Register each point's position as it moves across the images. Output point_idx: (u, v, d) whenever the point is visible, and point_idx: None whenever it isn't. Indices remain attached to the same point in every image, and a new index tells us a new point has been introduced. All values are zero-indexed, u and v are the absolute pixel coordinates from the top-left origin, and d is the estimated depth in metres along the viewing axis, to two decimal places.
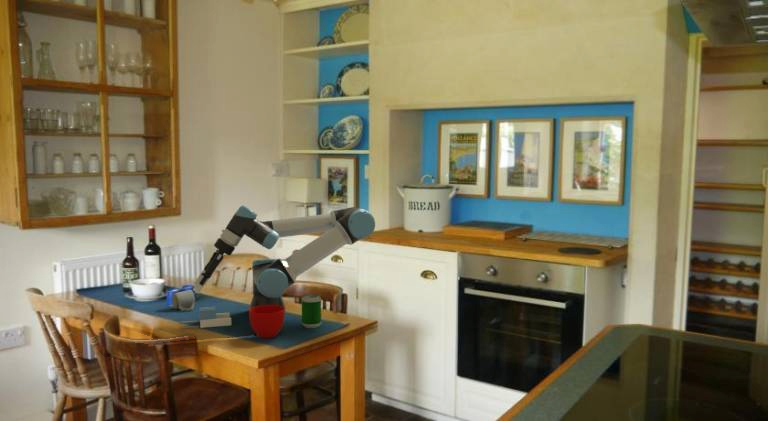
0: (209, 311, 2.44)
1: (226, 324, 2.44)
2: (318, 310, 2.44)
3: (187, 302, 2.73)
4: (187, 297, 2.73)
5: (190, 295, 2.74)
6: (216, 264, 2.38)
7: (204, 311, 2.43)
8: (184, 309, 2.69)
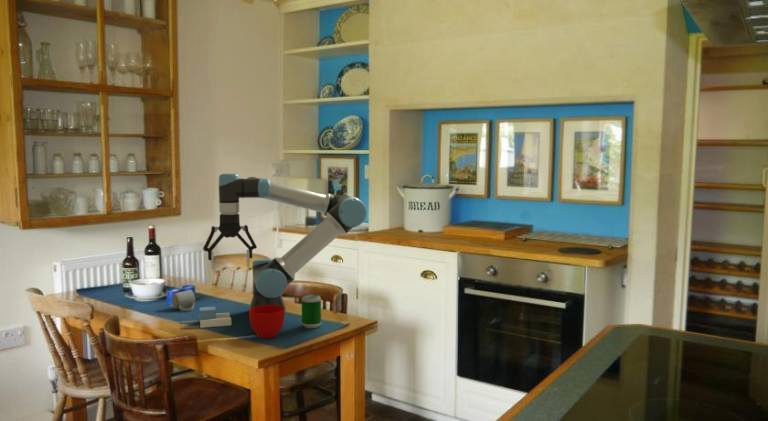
0: (209, 311, 2.44)
1: (226, 324, 2.44)
2: (318, 310, 2.44)
3: (187, 302, 2.72)
4: (187, 297, 2.72)
5: (190, 295, 2.73)
6: (209, 236, 2.43)
7: (204, 311, 2.43)
8: (184, 309, 2.69)
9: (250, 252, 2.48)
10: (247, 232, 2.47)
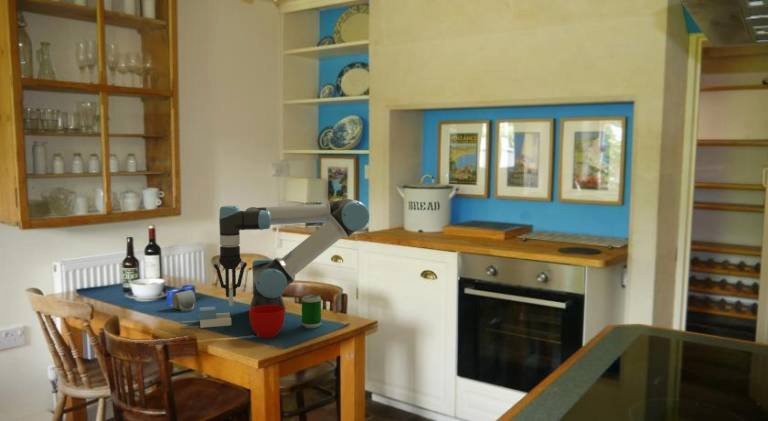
0: (209, 311, 2.44)
1: (226, 324, 2.44)
2: (318, 310, 2.44)
3: (188, 302, 2.72)
4: (188, 297, 2.72)
5: (191, 295, 2.73)
6: None
7: (204, 311, 2.43)
8: (185, 309, 2.69)
9: (234, 290, 2.48)
10: (242, 269, 2.48)
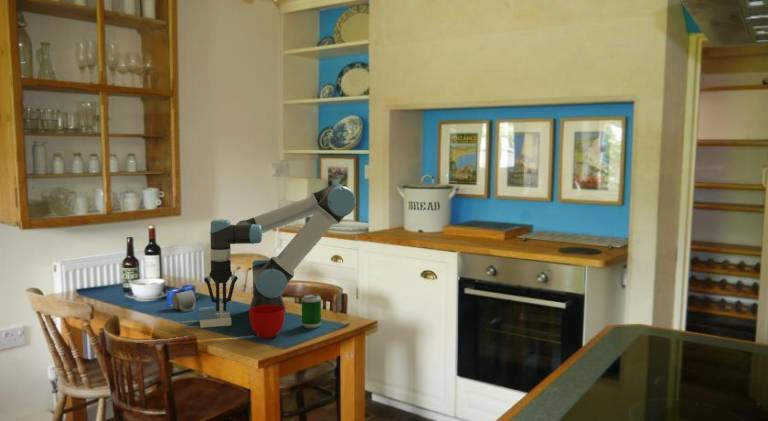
0: (209, 311, 2.44)
1: (226, 324, 2.44)
2: (318, 310, 2.44)
3: (188, 303, 2.72)
4: (188, 298, 2.72)
5: (191, 295, 2.73)
6: (208, 288, 2.45)
7: (204, 311, 2.43)
8: (185, 310, 2.68)
9: (224, 304, 2.47)
10: (233, 283, 2.47)
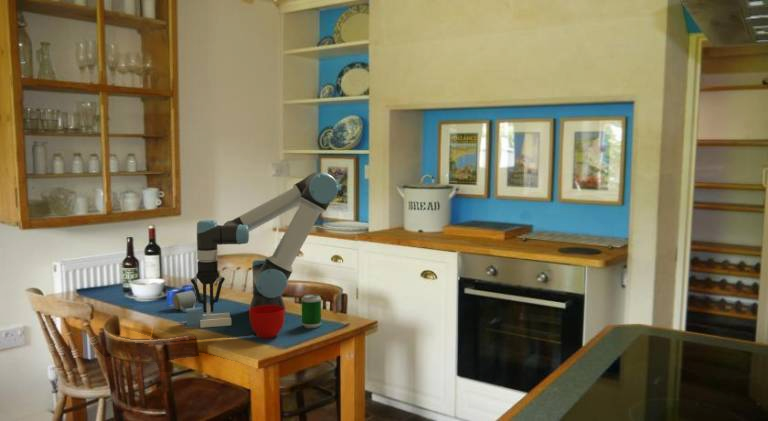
0: (195, 312, 2.42)
1: (226, 324, 2.44)
2: (318, 310, 2.44)
3: (188, 303, 2.71)
4: (188, 298, 2.71)
5: (191, 295, 2.72)
6: None
7: (190, 312, 2.42)
8: (185, 310, 2.68)
9: (211, 305, 2.46)
10: (220, 284, 2.46)
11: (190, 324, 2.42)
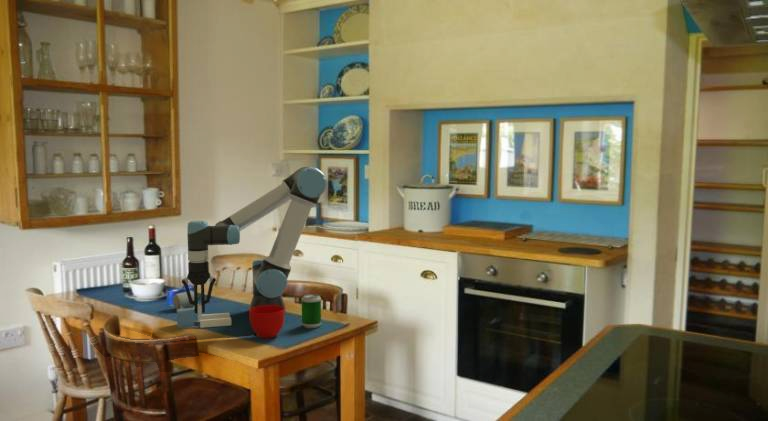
0: (186, 313, 2.41)
1: (226, 324, 2.44)
2: (318, 310, 2.44)
3: (188, 303, 2.71)
4: None
5: (191, 295, 2.72)
6: None
7: (181, 313, 2.41)
8: None
9: (202, 306, 2.45)
10: (211, 285, 2.45)
11: (181, 325, 2.41)
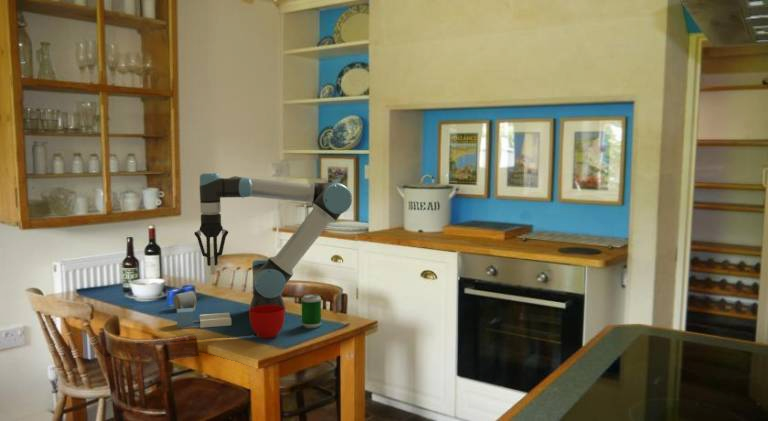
0: (186, 313, 2.41)
1: (226, 324, 2.44)
2: (318, 310, 2.44)
3: (189, 303, 2.70)
4: (189, 298, 2.71)
5: (192, 296, 2.72)
6: None
7: (181, 313, 2.41)
8: None
9: (215, 259, 2.45)
10: (224, 237, 2.45)
11: (181, 325, 2.41)
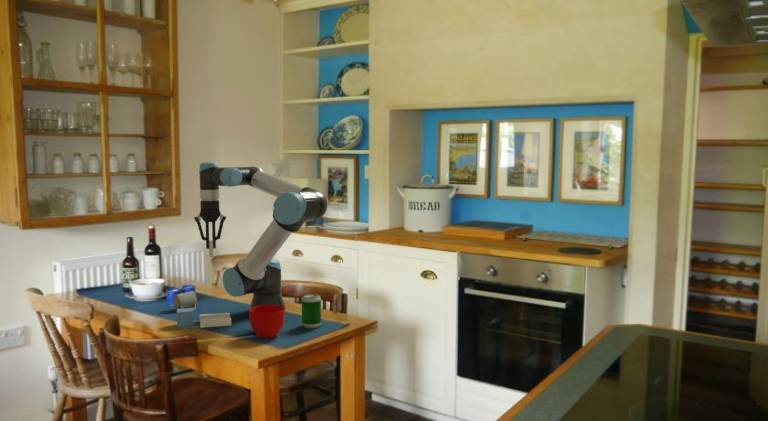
0: (186, 313, 2.41)
1: (226, 324, 2.44)
2: (318, 310, 2.44)
3: (189, 303, 2.70)
4: (189, 298, 2.70)
5: (192, 296, 2.71)
6: (198, 226, 2.60)
7: (181, 313, 2.41)
8: None
9: (214, 242, 2.62)
10: (222, 222, 2.62)
11: (181, 325, 2.41)
